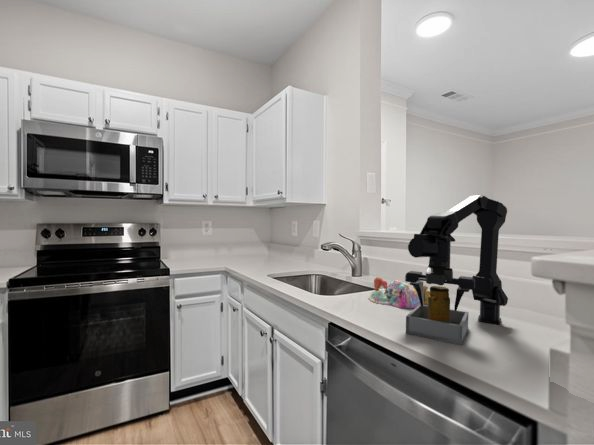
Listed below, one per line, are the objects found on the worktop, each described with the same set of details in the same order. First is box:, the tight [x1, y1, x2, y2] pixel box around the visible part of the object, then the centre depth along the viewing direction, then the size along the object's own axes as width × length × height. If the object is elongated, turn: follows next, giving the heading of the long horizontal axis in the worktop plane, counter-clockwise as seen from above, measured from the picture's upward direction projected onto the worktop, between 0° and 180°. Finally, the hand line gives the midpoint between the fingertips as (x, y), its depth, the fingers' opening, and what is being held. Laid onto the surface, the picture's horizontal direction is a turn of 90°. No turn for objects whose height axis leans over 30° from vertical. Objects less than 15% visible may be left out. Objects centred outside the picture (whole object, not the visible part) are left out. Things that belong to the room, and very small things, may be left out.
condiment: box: [428, 285, 451, 323], centre depth 93 cm, size 7×8×12 cm
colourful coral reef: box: [368, 276, 430, 310], centre depth 129 cm, size 25×24×9 cm
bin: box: [405, 304, 469, 346], centre depth 94 cm, size 17×15×5 cm
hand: (438, 308), depth 94 cm, fingers open, 9 cm apart
